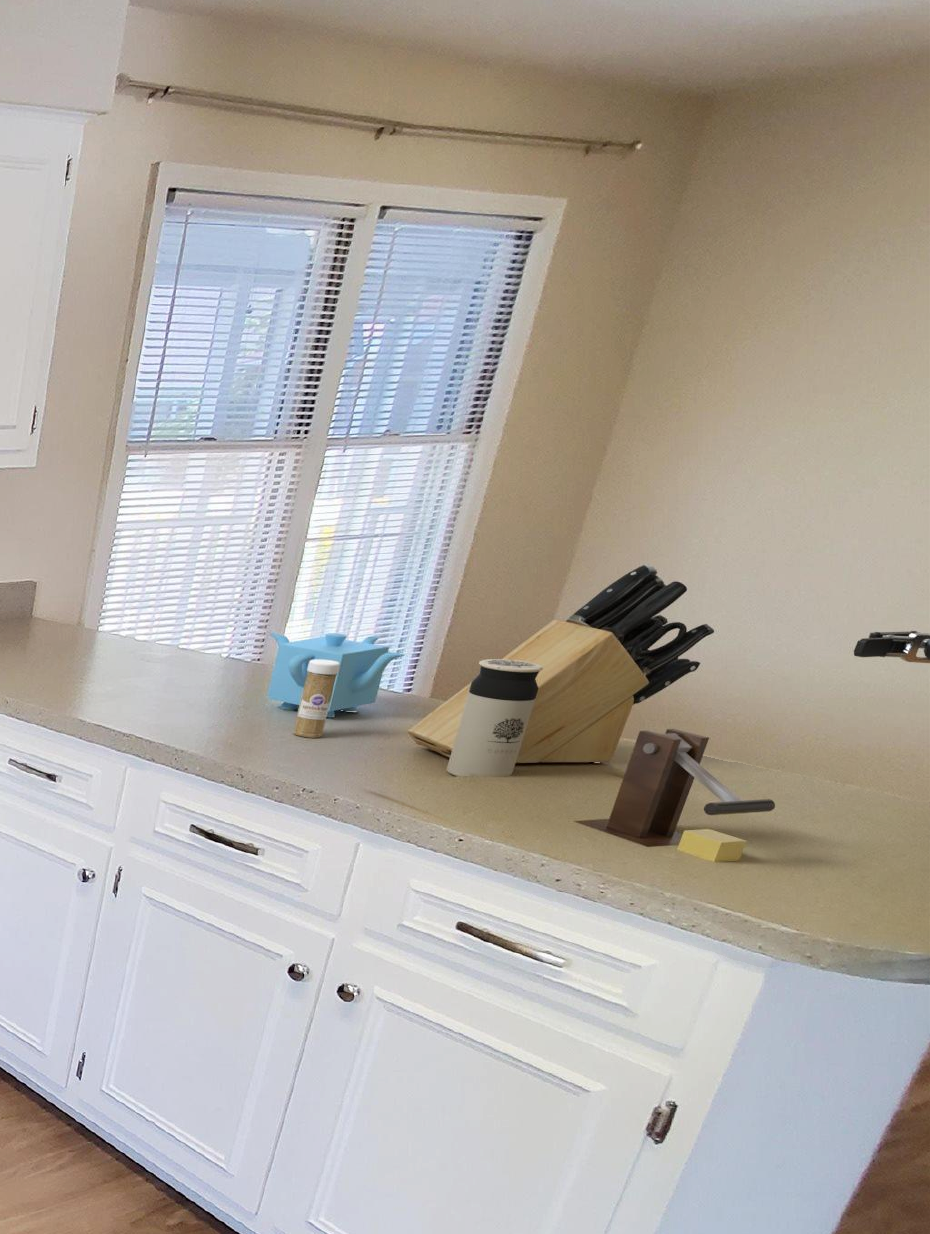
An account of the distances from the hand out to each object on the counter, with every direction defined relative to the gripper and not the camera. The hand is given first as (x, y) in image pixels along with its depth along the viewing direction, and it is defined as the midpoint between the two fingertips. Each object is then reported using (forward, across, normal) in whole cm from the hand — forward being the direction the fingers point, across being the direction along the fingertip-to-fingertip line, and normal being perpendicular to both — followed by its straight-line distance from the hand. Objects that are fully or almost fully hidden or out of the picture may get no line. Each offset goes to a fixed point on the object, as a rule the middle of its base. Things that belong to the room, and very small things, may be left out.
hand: (903, 654), depth 132 cm
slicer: (+14, -10, +27) cm, 32 cm away
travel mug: (+10, -38, +27) cm, 48 cm away
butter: (+14, -2, +27) cm, 30 cm away
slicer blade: (+14, -6, +17) cm, 23 cm away
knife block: (-8, -46, +26) cm, 53 cm away
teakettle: (+2, -80, +26) cm, 84 cm away
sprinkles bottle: (+18, -64, +27) cm, 72 cm away
